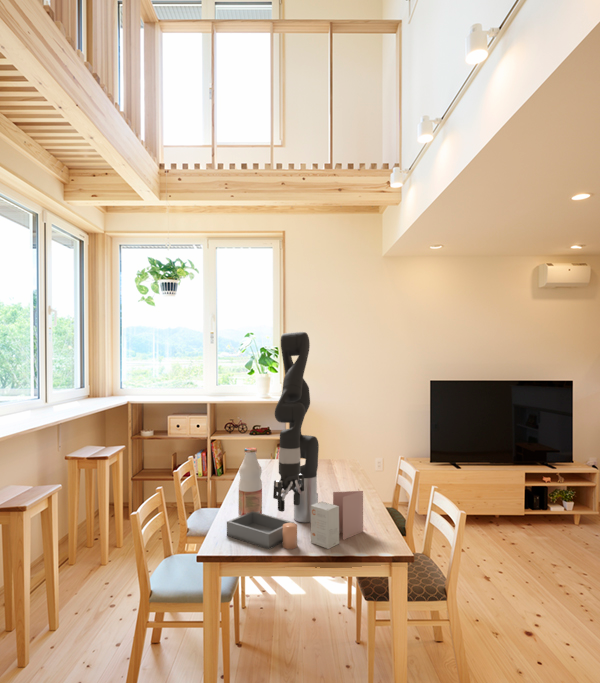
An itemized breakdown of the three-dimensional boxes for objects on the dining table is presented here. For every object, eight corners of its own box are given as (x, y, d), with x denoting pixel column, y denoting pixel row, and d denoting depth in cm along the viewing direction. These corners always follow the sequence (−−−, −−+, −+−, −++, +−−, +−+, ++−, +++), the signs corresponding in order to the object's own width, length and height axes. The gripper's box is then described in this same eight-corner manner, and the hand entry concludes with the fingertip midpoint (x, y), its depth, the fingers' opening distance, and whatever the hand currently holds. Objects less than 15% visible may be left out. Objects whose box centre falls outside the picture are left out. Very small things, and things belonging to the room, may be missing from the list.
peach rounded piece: (288, 541, 159) (288, 521, 159) (300, 545, 156) (300, 524, 156) (279, 546, 155) (279, 525, 155) (291, 550, 152) (291, 529, 152)
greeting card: (362, 530, 169) (362, 490, 170) (368, 538, 162) (368, 496, 162) (332, 532, 168) (332, 491, 168) (337, 540, 160) (337, 497, 161)
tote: (252, 524, 175) (252, 511, 176) (293, 536, 164) (293, 522, 164) (226, 535, 164) (226, 521, 164) (268, 549, 152) (268, 534, 153)
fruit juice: (233, 519, 180) (233, 449, 181) (248, 513, 188) (249, 445, 189) (251, 524, 175) (252, 451, 176) (266, 517, 183) (266, 447, 184)
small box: (339, 543, 157) (339, 505, 158) (328, 549, 152) (327, 510, 153) (321, 537, 163) (321, 500, 163) (310, 542, 158) (310, 505, 158)
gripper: (293, 455, 164) (293, 501, 164) (267, 462, 153) (267, 510, 152) (310, 458, 160) (309, 505, 159) (285, 465, 149) (284, 515, 148)
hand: (289, 507), depth 156 cm, fingers open, 8 cm apart
